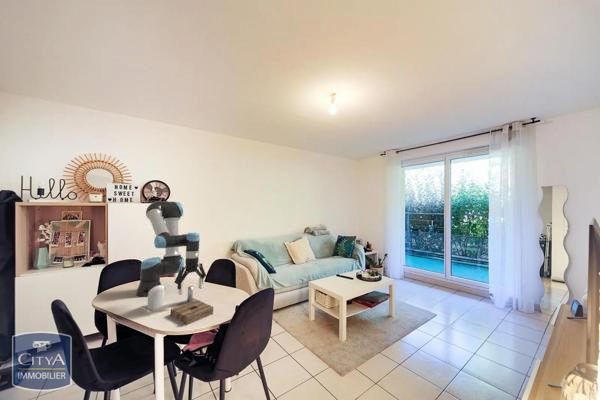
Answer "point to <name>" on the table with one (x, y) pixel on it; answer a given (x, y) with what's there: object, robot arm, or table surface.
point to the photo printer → (155, 297)
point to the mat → (186, 302)
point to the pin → (190, 294)
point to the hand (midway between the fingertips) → (190, 291)
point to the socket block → (191, 311)
